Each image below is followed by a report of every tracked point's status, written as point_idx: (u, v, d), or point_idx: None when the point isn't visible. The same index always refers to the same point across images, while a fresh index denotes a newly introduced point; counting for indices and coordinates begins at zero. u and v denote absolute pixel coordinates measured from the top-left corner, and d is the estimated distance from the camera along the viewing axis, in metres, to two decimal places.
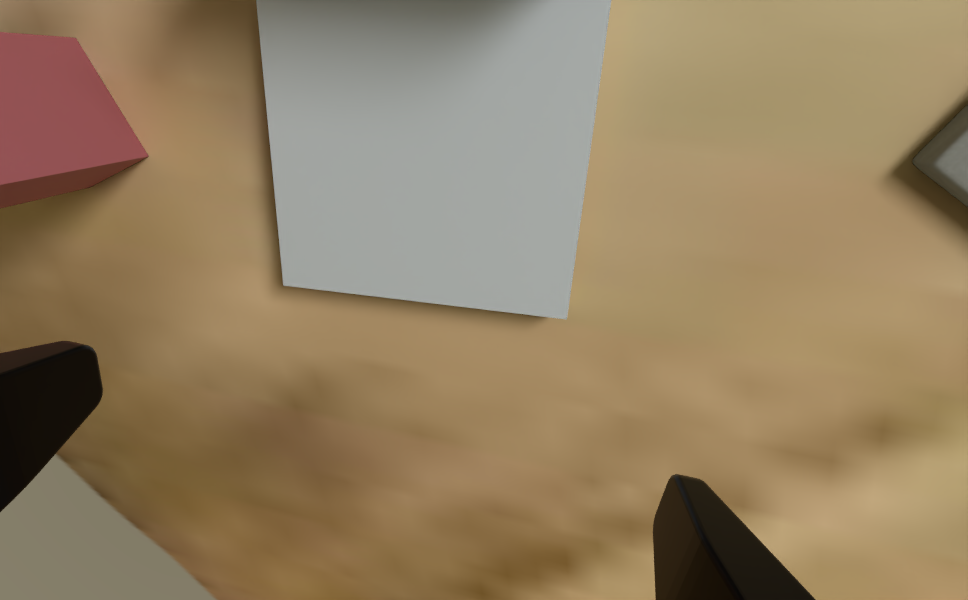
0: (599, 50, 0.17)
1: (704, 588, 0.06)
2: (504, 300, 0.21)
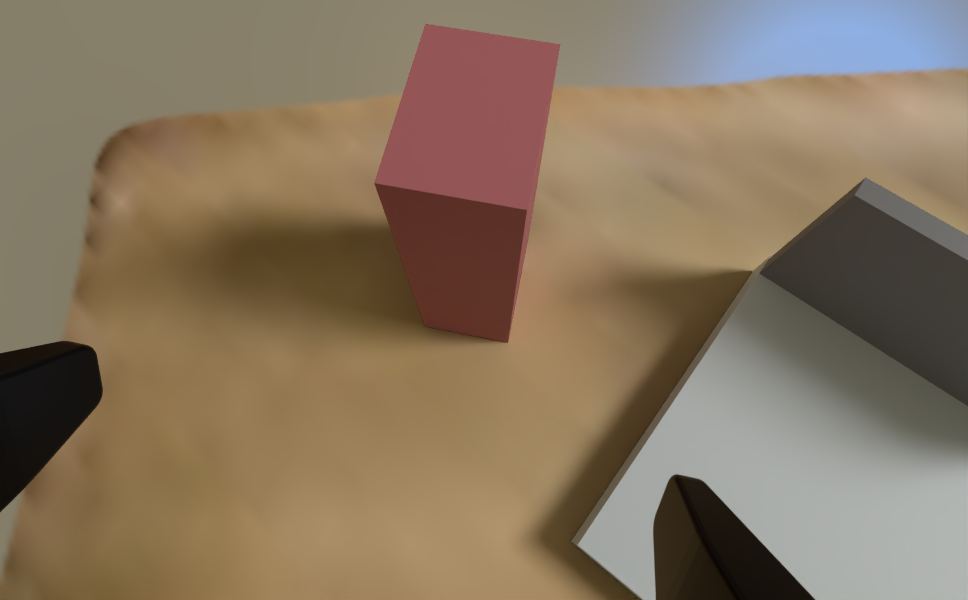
0: None
1: (704, 588, 0.06)
2: None
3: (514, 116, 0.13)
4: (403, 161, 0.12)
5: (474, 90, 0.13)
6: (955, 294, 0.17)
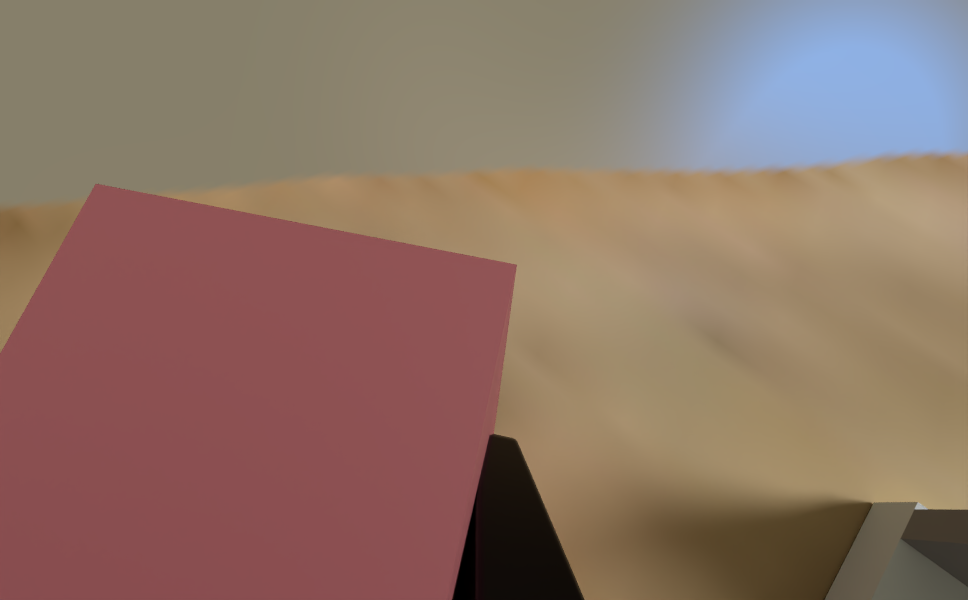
0: None
1: (470, 534, 0.06)
2: None
3: (325, 592, 0.03)
4: None
5: (195, 461, 0.04)
6: None
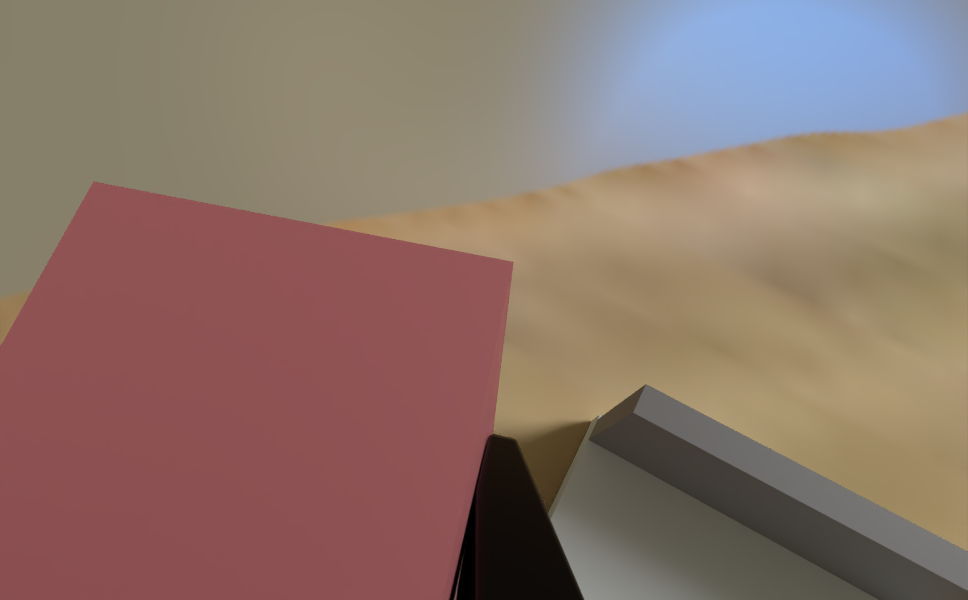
0: None
1: (471, 534, 0.06)
2: None
3: (323, 587, 0.03)
4: None
5: (193, 456, 0.04)
6: (775, 504, 0.14)
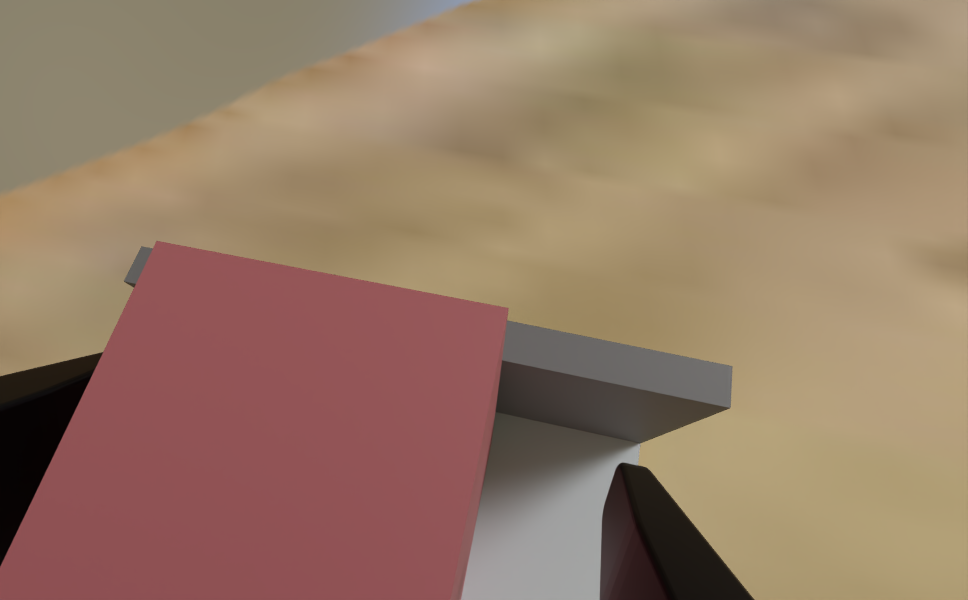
0: None
1: (635, 572, 0.06)
2: None
3: (357, 577, 0.04)
4: None
5: (251, 473, 0.05)
6: None
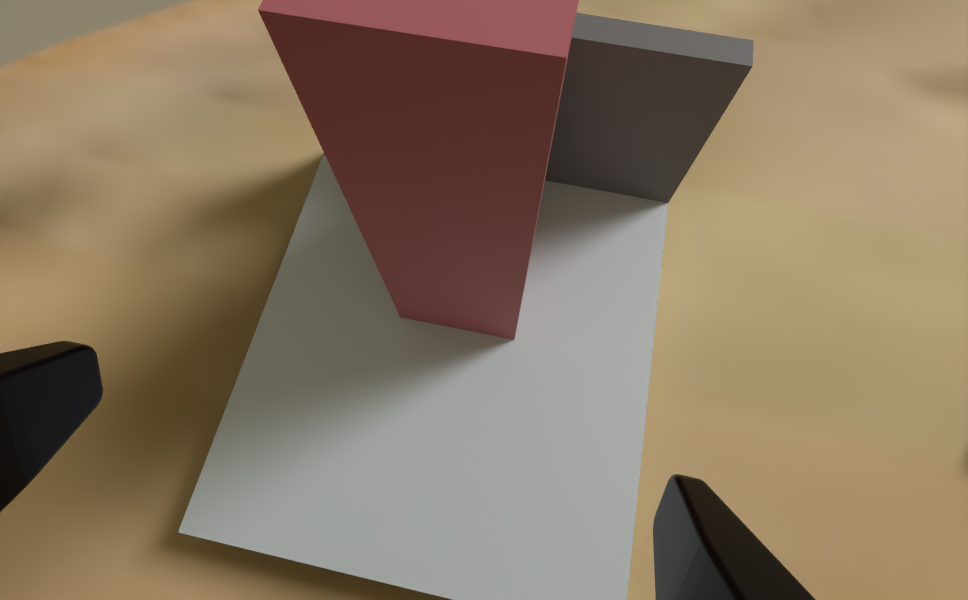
0: (654, 289, 0.17)
1: (704, 588, 0.06)
2: (526, 595, 0.14)
3: None
4: None
5: None
6: None
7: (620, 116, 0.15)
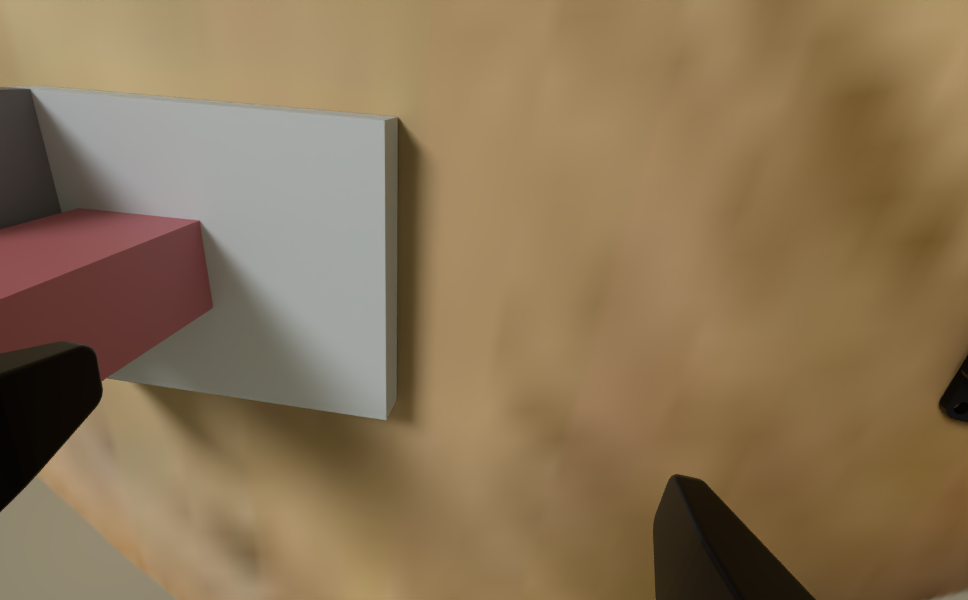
0: (115, 101, 0.18)
1: (704, 588, 0.06)
2: (371, 195, 0.18)
3: None
4: None
5: None
6: None
7: None
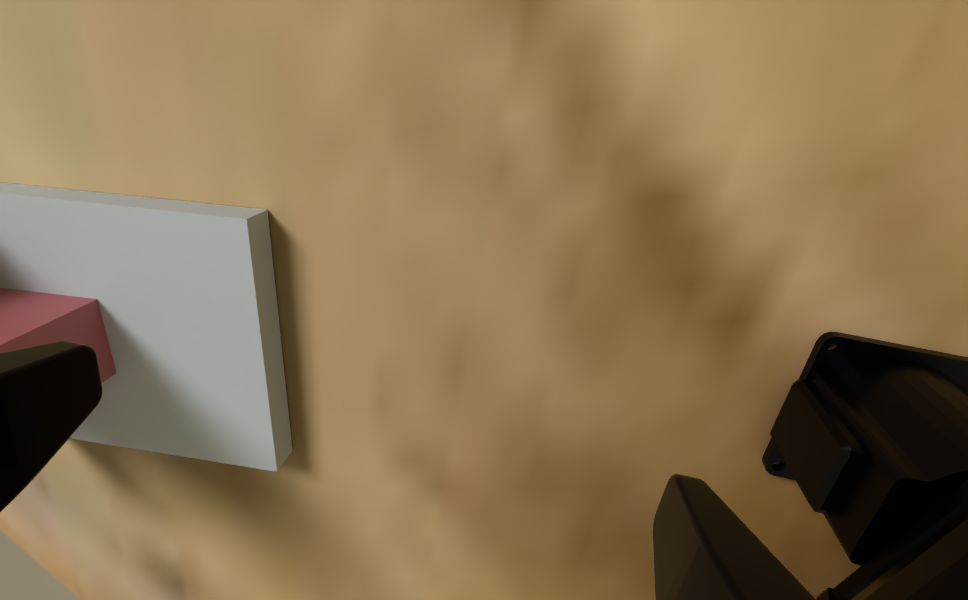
0: (15, 198, 0.21)
1: (704, 588, 0.06)
2: (242, 281, 0.21)
3: None
4: None
5: None
6: None
7: None
